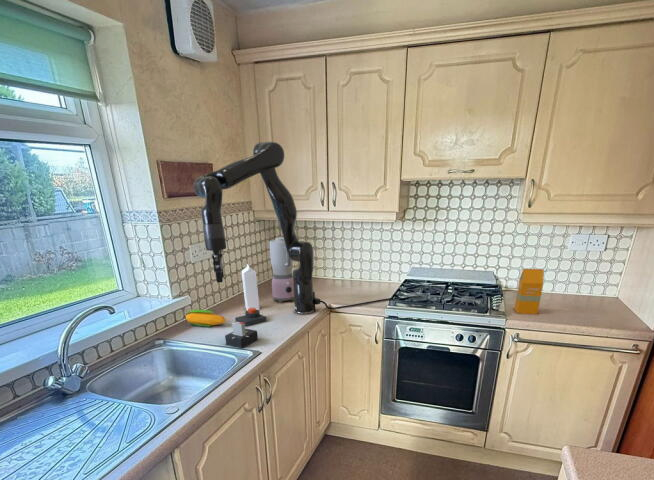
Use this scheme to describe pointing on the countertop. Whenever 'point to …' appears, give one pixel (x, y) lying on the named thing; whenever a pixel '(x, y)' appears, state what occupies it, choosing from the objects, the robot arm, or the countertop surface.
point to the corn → (204, 318)
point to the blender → (281, 271)
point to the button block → (251, 318)
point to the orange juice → (529, 291)
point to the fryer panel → (241, 338)
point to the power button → (252, 310)
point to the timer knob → (239, 328)
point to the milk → (250, 288)
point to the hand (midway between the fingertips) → (220, 279)
